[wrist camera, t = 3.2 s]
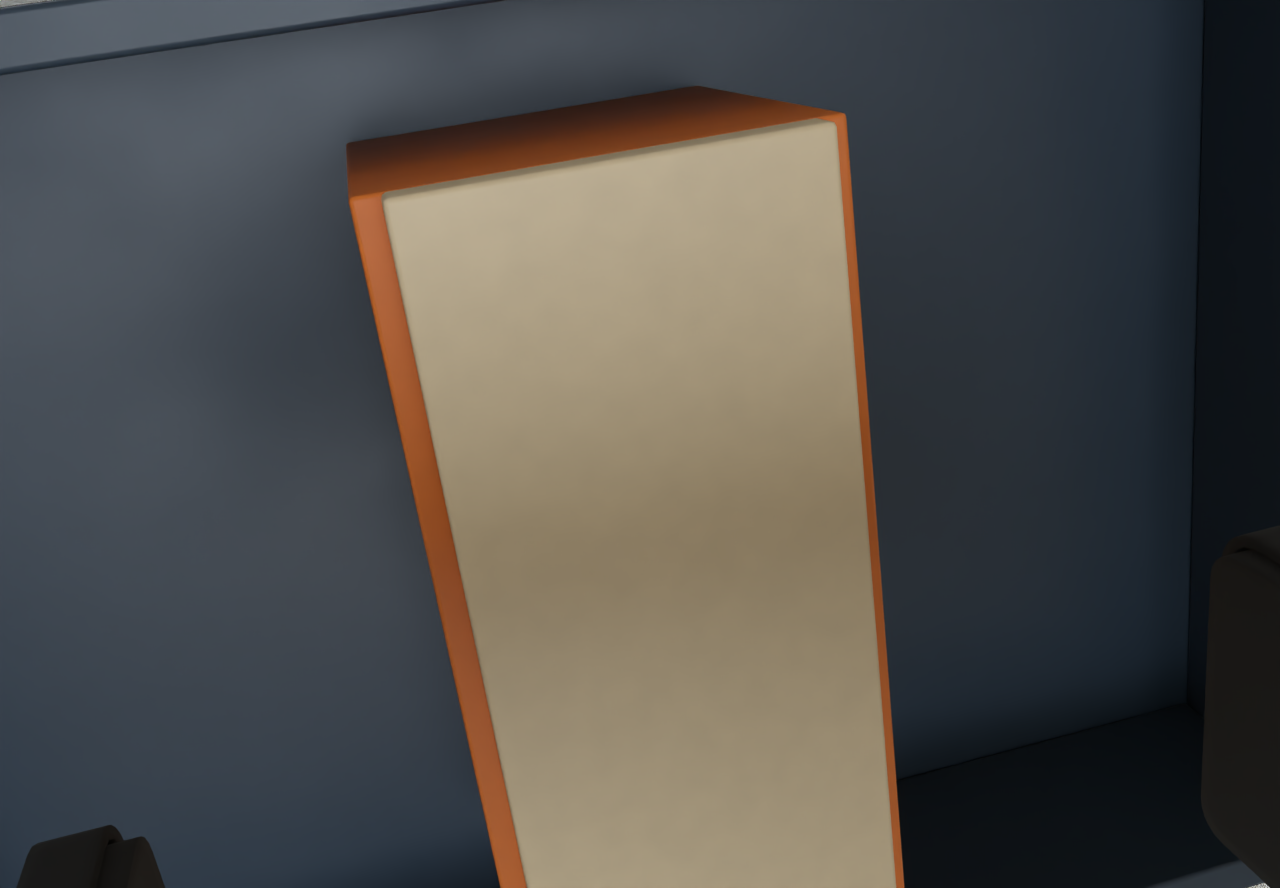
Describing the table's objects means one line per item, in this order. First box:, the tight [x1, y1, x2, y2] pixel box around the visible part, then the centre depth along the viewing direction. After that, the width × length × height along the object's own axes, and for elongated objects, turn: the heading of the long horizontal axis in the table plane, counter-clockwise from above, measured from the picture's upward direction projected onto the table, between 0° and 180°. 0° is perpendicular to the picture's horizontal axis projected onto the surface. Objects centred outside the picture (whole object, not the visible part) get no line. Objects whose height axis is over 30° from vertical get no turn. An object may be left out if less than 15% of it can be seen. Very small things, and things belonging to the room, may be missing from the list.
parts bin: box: [0, 0, 1280, 888], centre depth 17 cm, size 22×15×4 cm
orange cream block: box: [346, 86, 904, 888], centre depth 16 cm, size 5×11×6 cm, turn 8°
